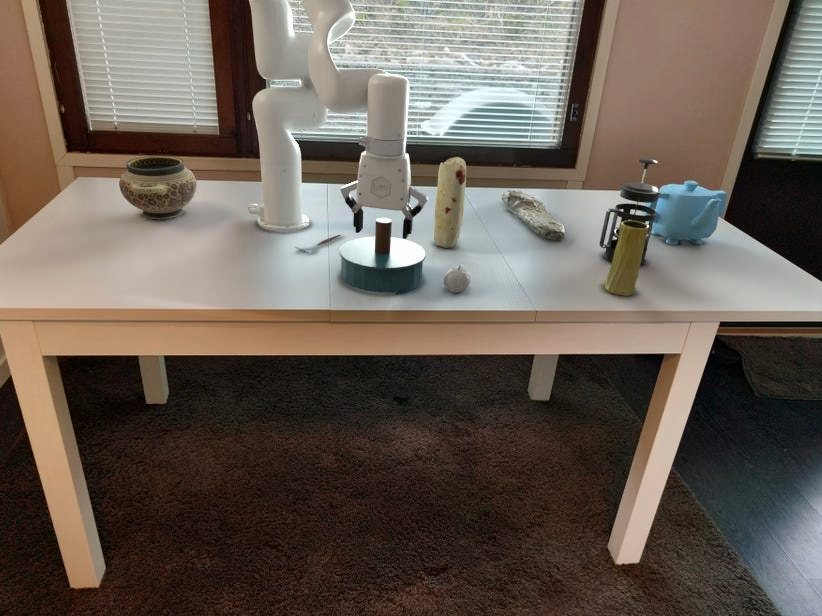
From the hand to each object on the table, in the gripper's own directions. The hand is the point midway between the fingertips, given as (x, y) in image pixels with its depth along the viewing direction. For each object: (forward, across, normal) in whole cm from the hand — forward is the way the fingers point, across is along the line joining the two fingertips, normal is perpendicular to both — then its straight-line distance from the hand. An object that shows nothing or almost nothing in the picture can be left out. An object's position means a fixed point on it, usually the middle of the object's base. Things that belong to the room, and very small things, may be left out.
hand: (382, 233), depth 130 cm
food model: (+10, +10, +25) cm, 29 cm away
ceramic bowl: (+10, -62, +22) cm, 66 cm away
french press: (+10, +51, +29) cm, 60 cm away
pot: (+10, 0, 0) cm, 10 cm away
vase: (+10, +49, +10) cm, 51 cm away
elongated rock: (+10, +29, +52) cm, 60 cm away
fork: (+10, -18, +13) cm, 24 cm away
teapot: (+10, +67, +49) cm, 84 cm away
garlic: (+10, +16, -1) cm, 19 cm away
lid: (+4, 0, 0) cm, 4 cm away
